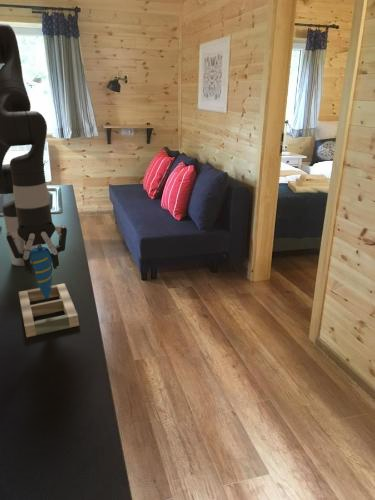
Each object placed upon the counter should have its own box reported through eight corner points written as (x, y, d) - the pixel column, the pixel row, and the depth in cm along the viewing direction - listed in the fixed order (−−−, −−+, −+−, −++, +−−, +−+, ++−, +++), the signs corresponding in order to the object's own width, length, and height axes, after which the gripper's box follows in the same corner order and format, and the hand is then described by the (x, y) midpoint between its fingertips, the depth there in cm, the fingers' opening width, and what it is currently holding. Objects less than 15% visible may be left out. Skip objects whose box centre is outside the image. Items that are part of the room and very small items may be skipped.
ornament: (35, 304, 103) (26, 247, 98) (36, 295, 108) (27, 240, 102) (57, 301, 104) (49, 245, 99) (57, 292, 109) (50, 238, 104)
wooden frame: (20, 301, 118) (18, 291, 117) (65, 292, 123) (64, 283, 122) (26, 337, 101) (24, 326, 100) (79, 325, 106) (77, 315, 105)
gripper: (61, 195, 103) (69, 259, 109) (-2, 202, 98) (10, 269, 104) (67, 202, 97) (75, 270, 103) (-1, 210, 91) (12, 281, 97)
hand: (42, 269), depth 103 cm, fingers closed on ornament, 5 cm apart
